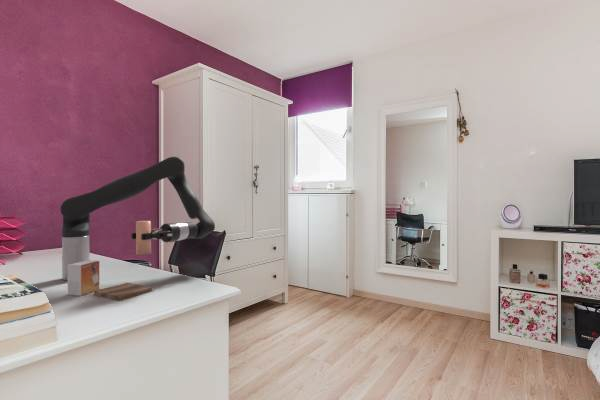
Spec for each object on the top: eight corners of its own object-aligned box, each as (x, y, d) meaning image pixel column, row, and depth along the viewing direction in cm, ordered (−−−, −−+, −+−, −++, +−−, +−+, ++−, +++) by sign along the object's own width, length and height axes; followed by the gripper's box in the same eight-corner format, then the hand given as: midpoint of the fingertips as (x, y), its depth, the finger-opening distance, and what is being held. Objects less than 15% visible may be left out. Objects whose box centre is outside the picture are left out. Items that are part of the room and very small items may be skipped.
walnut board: (94, 294, 110) (94, 291, 110) (127, 285, 121) (127, 282, 121) (119, 300, 104) (119, 296, 104) (152, 290, 114) (152, 287, 114)
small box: (81, 296, 108) (80, 265, 108) (67, 295, 110) (66, 264, 109) (100, 289, 116) (99, 260, 116) (87, 288, 117) (86, 259, 117)
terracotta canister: (133, 254, 119) (132, 221, 119) (145, 251, 123) (144, 220, 123) (142, 255, 117) (141, 222, 117) (154, 252, 121) (153, 221, 121)
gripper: (162, 222, 136) (124, 225, 121) (187, 223, 129) (150, 227, 114) (162, 239, 136) (124, 245, 121) (187, 242, 129) (150, 248, 114)
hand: (137, 236), depth 118 cm, fingers closed on terracotta canister, 5 cm apart
